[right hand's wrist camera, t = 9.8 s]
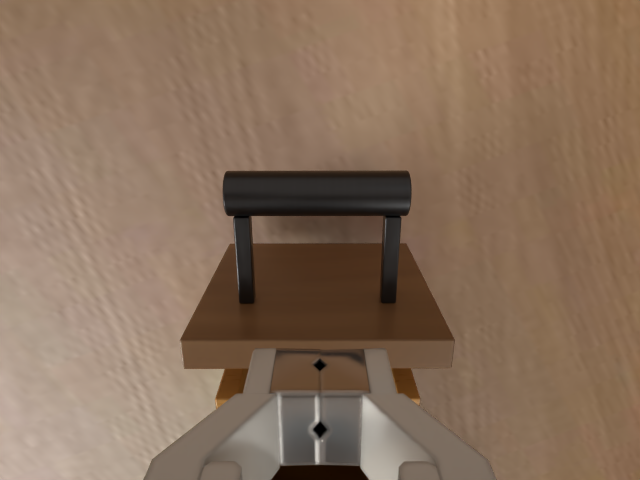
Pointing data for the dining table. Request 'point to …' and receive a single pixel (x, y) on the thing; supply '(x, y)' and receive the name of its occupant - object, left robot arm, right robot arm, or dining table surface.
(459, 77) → the dining table surface
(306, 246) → the drawer
